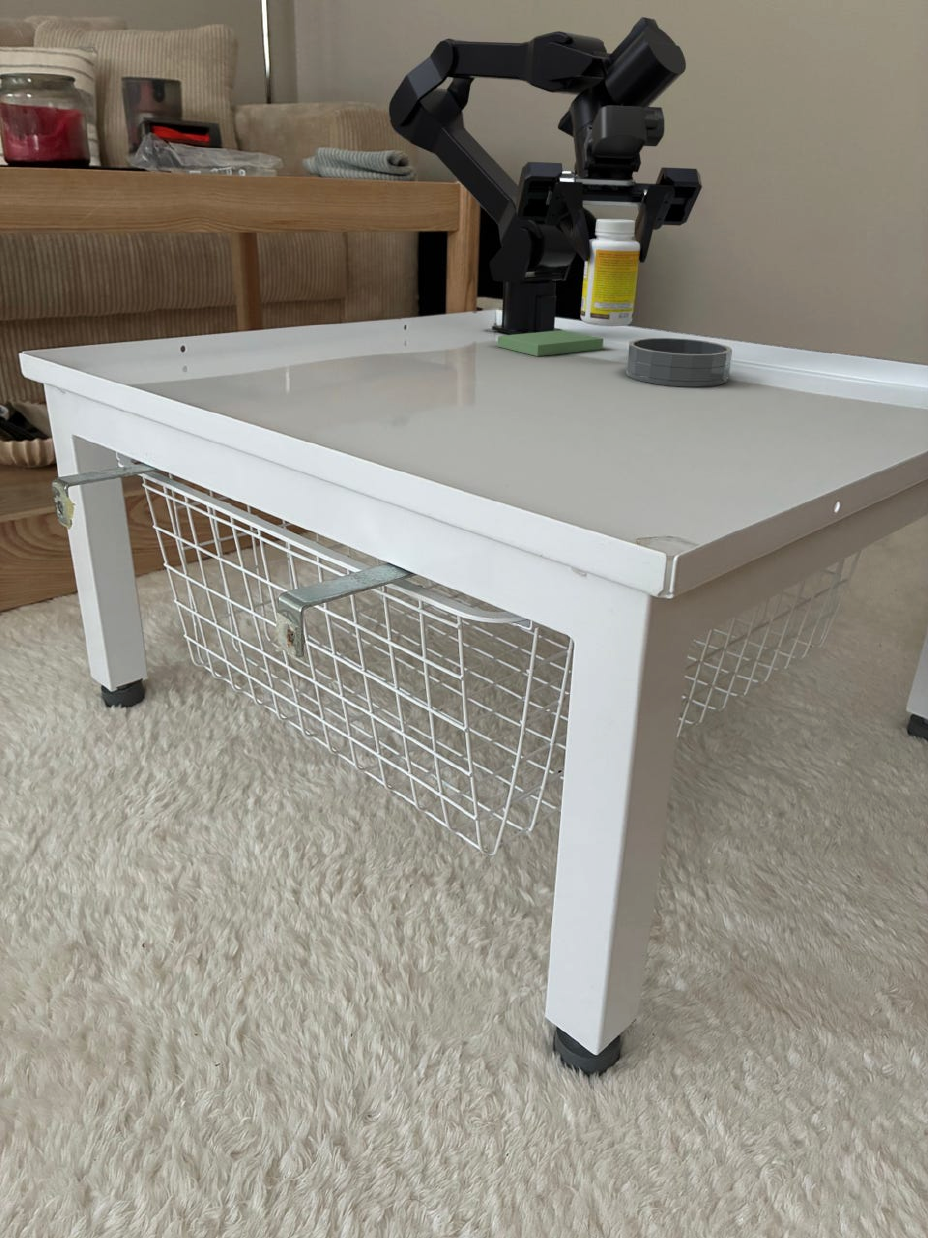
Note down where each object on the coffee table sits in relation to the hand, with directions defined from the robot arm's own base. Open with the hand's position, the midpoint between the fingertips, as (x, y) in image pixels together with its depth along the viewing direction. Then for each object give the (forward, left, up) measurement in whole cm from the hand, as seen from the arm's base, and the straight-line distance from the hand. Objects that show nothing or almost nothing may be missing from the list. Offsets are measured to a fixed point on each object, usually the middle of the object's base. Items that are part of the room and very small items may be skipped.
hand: (615, 259), depth 97 cm
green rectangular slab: (-10, +1, -10) cm, 14 cm away
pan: (+9, +1, -10) cm, 14 cm away
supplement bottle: (-1, +1, -7) cm, 7 cm away
